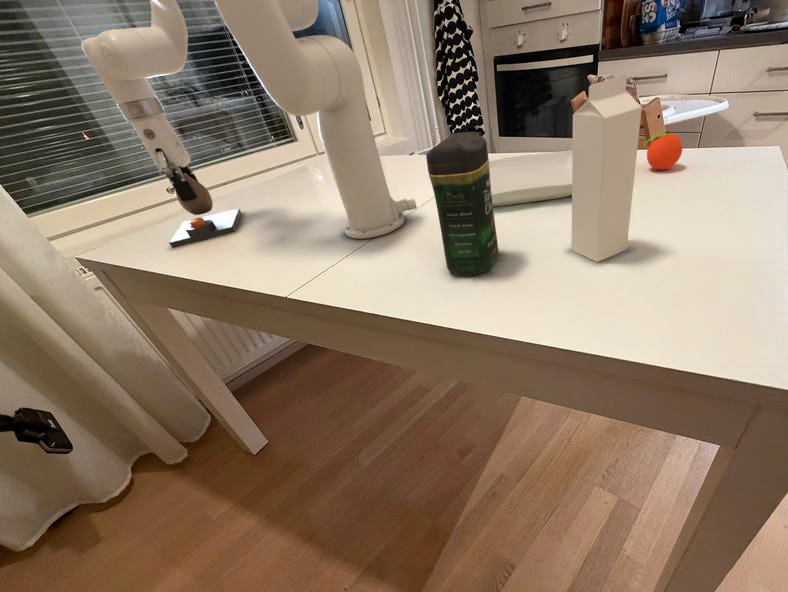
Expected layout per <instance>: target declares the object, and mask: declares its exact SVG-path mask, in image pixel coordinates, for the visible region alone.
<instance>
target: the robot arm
mask: <svg viewBox="0 0 788 592" xmlns="http://www.w3.org/2000/svg"><path fill="white" fill-rule="evenodd" d="M149 2H150V11H151V19H150V20H151V23H150V26H142V27H141V26H139V27H130V28H129V27H128V28H117V29H108V30H104V31H102V32H101V33H99V34H98V35H97V36H93V37H89V38H85V39H83V40H82V41H81V49H82V51H83V53H84V55H85V56H86V58H87V59H88V61H89V63H90V64H91V66H92V67H93V69H94V71H95V72H96V74H97V76H98V77H99V79H100V81H101V82H102V84H103V85H104V86H105V88H106V90H107V91H108V93H109V94H110V96H111V98H112V100H113V101H114V103H115V104H116V106H117V108H118V109H119V111H120V112H121V114H122V116H123V118H124V119H125V120H126V122H127V123H128V124H129V123H132V125H133V126H134V128H135V130H136V132H137V134H138V136H139V137H140V139H141V141H142V143H143V145H144V146H145V148H146V150H147V152H148V153H149V155H150V157H151V158H152V159H153V161H154V164H155V165H156V166H157V167H158V168H159V170H160V171H163V173H164V174H165V176H166V178H168V181H169V183H170V184H171V186H172V187H173V188H174V191H175V190H176V191H177V193H178V195H179V196H180V198H181V200H182V201H184V202H185V201H189V200H193V199H196V198H197V196H196V194H195V192H194V191H193V189H192V187H191V186H190V184H189V182H188V181H185V178H184V176H183V174H187V175H188V176H189V177H191V178H192V179H194V180H196V181H198V182H199V180H198V178H197V177H196V175H195V173H194V171H193V169H192V168H191V167H190V165H189V164H190V162H191V160H192V158H191V155H190V154H189V152H188V150H187V148H186V147H185V146H184V144H183V142H182V141H181V139H180V137H179V136H178V133H177V132H176V131H175V130H174V127H172V125H171V123H170V122H169V120H168V119H167V117H166V115H167V112H166V110H165V109H164V107H163V106H162V103H161V102H160V100H159V98H158V97H157V94H156V93H155V91H154V89H153V87H152V86H151V84H150V82H149V81H148V79H151V78H154V77H161V76H167V75H175V74H178V73H179V72H181V71H182V70H183V69H184V67H185V66H186V62H187V58H188V45H189V43H188V42H189V33H188V26H187V22H186V20H185V17H184V15H183V12H182V10H181V8H180V5H179V4H178V1H177V0H149ZM213 2H214V4H215V6H216V9H217V11H218V13H219V15H220V17H221V19H222V20H223V23H224V24H225V26H226V28H227V29H228V31H229V33H230V34H231V36H232V37H233V39H234V41H235V42H236V44H237V46H238V47H239V49H240V51H241V52H242V54H243V56H244V57H245V59H246V61H247V63H248V64H249V66H250V67H251V69H252V71H253V72H254V74H255V76H256V78H257V79H258V82H260V84H261V86H262V87H263V89H264V91H265V92H266V93H267V95H268V96H269V97H270V99H271V100H272V101H273V102H274V103H275V104H276V105H277V106H278V107H279V109H281V110H283V111H284V112H286V113H287V114H289V115H292V116H295V117H303V116H304V117H305V116H310V115H313V114H317V130H318V134H319V135H318V136H319V139H320V142H321V146H322V148H323V152H324V154H325V157H326V160H327V163H328V165H329V168H330V171H331V174H332V176H333V179H334V182H335V185H336V187H337V190H338V193H339V196H340V199H341V202H342V205H343V207H344V210H345V213H346V216H347V218H348V223H346V224H345V226H344V233H345V235H346V236H347V237H349V238H351V239H357V240H358V239H359V240H361V239H362V240H363V239H372V238H376V237H380V236H381V237H382V236H384V235H387V234H389V233H392V232H394V231H396V230H397V229H399V228H400V227H401V226H402V225H403V224H404V222H405V217H404V214H403V213H404V212H406V211H412V210H417V208H418V207H417V203H416V200H415V198H412V199H409V200H408V199H407V198H404V199H400V200H397V201H396V200H394V199H393V198H392V196H391V194H390V190H389V187H388V183H387V180H386V176H385V172H384V169H383V164H382V162H381V158H380V155H379V151H378V147H377V144H376V139H375V136H374V132H373V127H372V124H371V121H370V116H369V112H368V111H369V110H368V105H367V100H366V91H365V84H364V77H363V72H362V69H361V65H360V62H359V60H358V58H357V56H356V54H355V53H354V51H353V50H352V49H351V47H350V46H349V45H348V44H347V43H345V42H344V41H343V40H341V39H339V38H337V37H335V36H331V35H327V34H319V35H309V36H308V35H307V36H300V37H298V38H296V37H295V35H294V32H298V31H303V30H305V29H307V28H310V27H311V26H313V24H315V22H316V21H317V18H318V16H319V8H320V7H319V5H320V4H319V0H213Z"/></svg>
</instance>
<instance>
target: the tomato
mask: <svg viewBox="0 0 788 592" xmlns="http://www.w3.org/2000/svg"><path fill="white" fill-rule="evenodd" d="M651 140H652V141H651ZM650 141H651V142H650ZM648 142H650V143H649V145H648V147H647V149H646V159H647V163H648V164H649V166H650V167H651V168H653V169H654V170H660V171H664V170H668V169H669V168H671V167H673V166H675V165H676V163H678V161H679V159H680V158H681V156H682V153H683V143H682V140H681V139H680V137H679V136H678V135H676V134H674V133H670V132H666V133H659V134H655V135H654V136H652V137H651V138H649V139H647V141H646V142H645V143H644V145H643V147H645V145H646V144H648Z"/></svg>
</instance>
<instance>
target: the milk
mask: <svg viewBox="0 0 788 592" xmlns="http://www.w3.org/2000/svg"><path fill="white" fill-rule="evenodd" d="M627 79H628V78H627V76H626V75H623V76H619V77H616V78H612V79H608V80H603V81H601V82H597V83H593V84H590V85H589V87H588V98H587V99H588V100H587V101H586V102H585V103H584V104H582V105H581V106H580V108H578V109H577V110H576V111H575V112H574V113H573V114H572V150H573V151H572V195H571V246H570V247H571V251H572V252H575V253H576V254H578V255H581V256H583V257H585V258H587V259H590V261H593V262H595V263H599V262H602V261H603V260H607V259H608V258H610V257H613V256H615V255H617V254H620V253H622V252H624V251H627V249H628V241H629V232H630V231H629V230H630V222H631V212H632V203H633V194H634V185H635V184H634V183H635V174H636V165H637V158H638V157H637V156H638V147H639V146H638V145H639V136H640V129H641V128H640V127H641V118H642V109H643V107H642V105H640V104H639V103H638V101H636V99H635V98H634V97H633V96H632V95H631V94H630V93H629V92H628V90H627Z"/></svg>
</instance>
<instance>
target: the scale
mask: <svg viewBox="0 0 788 592" xmlns="http://www.w3.org/2000/svg"><path fill="white" fill-rule="evenodd" d="M242 213H243V212H242V210H241V209H240V207H239V208H234V209H230V210H226V211H222V212H218V213H214V214H210V215H206V216H201V217H200V218H203V219H204V221H205V223H206V224H205V225H203V226H200V227H196V228H192V226H191V225H190V223H189V221H191V220H192V219H191V220H185V221H183V222H182V223H181V225H180V226H179V228H178V229H177V231H176V232H175V234H174V235H173V236H172V238H171V239H170V240H169V242H168V244H169V246H170V247H171V248H172V249H176V248H179V247H182V246H187V245H191V244H194V243H195V244H196V243H198V242H202V241H207V240H211V239H213V238H218V237H221V236H226V235H229V234H233V233H236V231H237V228H238V225H239V222H240V219H241V216H242Z"/></svg>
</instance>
